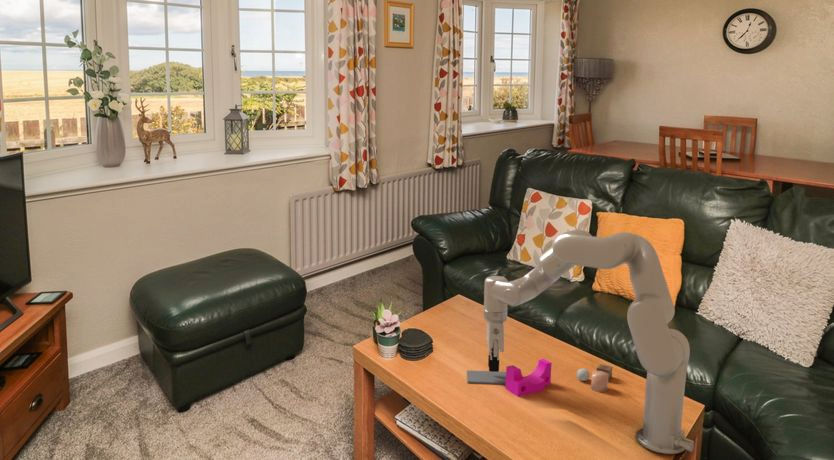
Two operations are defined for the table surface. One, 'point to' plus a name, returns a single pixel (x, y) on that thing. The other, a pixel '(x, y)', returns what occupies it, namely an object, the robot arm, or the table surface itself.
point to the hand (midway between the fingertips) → (493, 368)
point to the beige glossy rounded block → (599, 381)
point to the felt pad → (486, 377)
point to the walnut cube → (605, 370)
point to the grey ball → (583, 374)
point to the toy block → (528, 379)
